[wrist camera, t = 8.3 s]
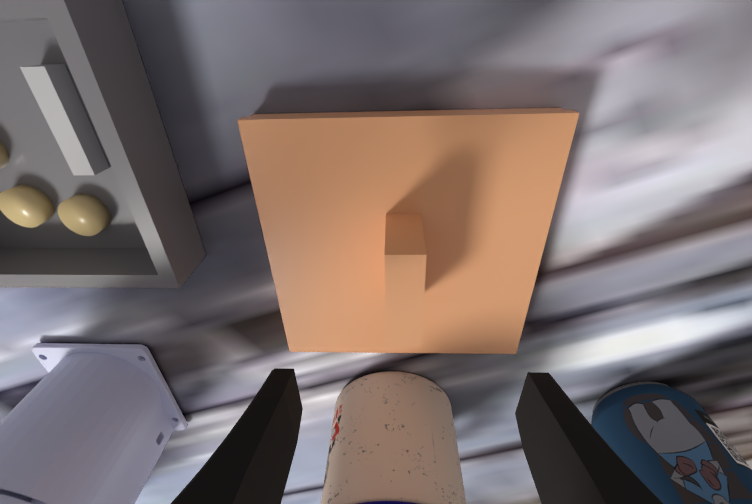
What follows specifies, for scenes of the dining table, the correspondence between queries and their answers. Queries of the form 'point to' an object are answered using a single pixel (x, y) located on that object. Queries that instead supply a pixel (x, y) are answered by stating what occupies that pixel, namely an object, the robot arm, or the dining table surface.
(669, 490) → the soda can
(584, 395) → the dining table surface
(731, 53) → the dining table surface
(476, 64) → the dining table surface
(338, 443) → the teacup with lid
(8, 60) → the parts tub
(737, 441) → the dining table surface
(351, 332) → the lid
